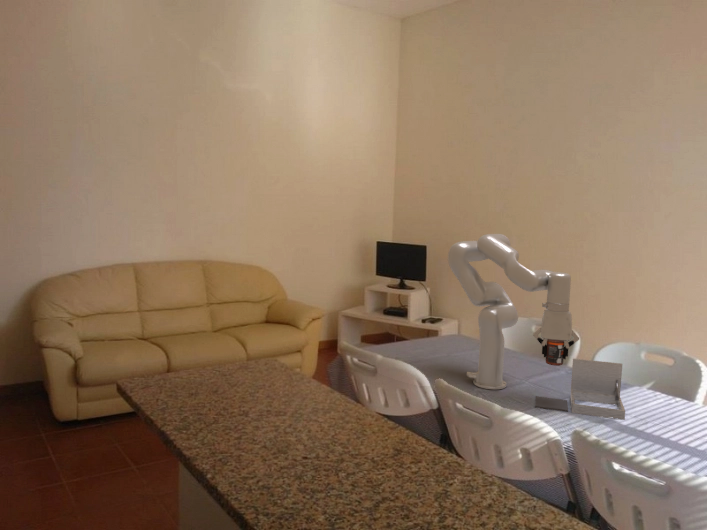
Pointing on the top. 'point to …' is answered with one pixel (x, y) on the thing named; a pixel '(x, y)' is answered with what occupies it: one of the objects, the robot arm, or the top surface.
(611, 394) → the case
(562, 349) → the supplement bottle
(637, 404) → the top surface
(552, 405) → the mat
